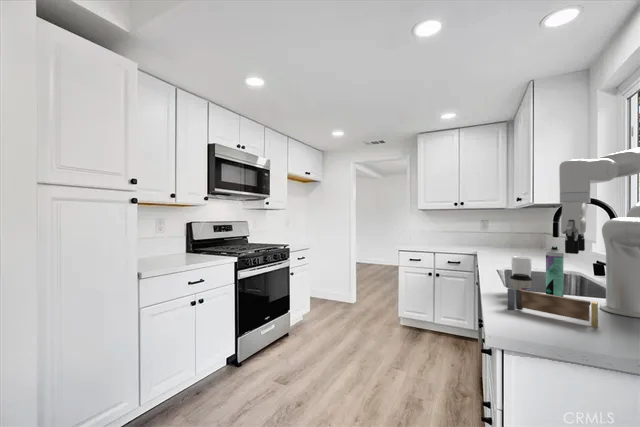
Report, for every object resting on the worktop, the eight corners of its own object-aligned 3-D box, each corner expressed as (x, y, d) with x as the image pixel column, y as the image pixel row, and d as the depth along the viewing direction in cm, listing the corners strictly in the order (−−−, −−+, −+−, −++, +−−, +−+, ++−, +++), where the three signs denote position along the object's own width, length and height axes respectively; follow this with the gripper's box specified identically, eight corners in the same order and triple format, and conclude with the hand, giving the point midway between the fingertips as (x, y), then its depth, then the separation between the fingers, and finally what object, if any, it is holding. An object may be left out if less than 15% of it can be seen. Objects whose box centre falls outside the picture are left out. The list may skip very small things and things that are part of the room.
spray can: (558, 295, 121) (558, 245, 121) (566, 299, 115) (566, 247, 115) (543, 294, 122) (543, 245, 122) (550, 298, 117) (550, 247, 117)
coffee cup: (505, 299, 115) (505, 273, 115) (519, 297, 117) (519, 272, 117) (522, 304, 108) (522, 277, 108) (536, 303, 110) (536, 276, 110)
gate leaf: (515, 309, 102) (515, 289, 102) (517, 307, 103) (517, 288, 103) (589, 324, 88) (589, 302, 88) (590, 323, 89) (590, 300, 89)
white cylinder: (534, 296, 119) (534, 258, 119) (515, 295, 120) (515, 258, 120) (526, 292, 126) (526, 256, 126) (508, 291, 127) (508, 256, 127)
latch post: (592, 325, 89) (592, 301, 89) (597, 326, 88) (597, 302, 88) (591, 326, 87) (591, 302, 87) (596, 327, 87) (596, 303, 87)
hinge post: (509, 307, 105) (509, 287, 105) (515, 309, 104) (515, 288, 104) (507, 308, 104) (507, 288, 104) (514, 310, 102) (514, 289, 102)
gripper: (565, 199, 104) (566, 248, 105) (553, 198, 93) (553, 253, 93) (594, 198, 99) (595, 250, 99) (585, 197, 88) (585, 256, 88)
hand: (575, 251), depth 96 cm, fingers open, 9 cm apart
